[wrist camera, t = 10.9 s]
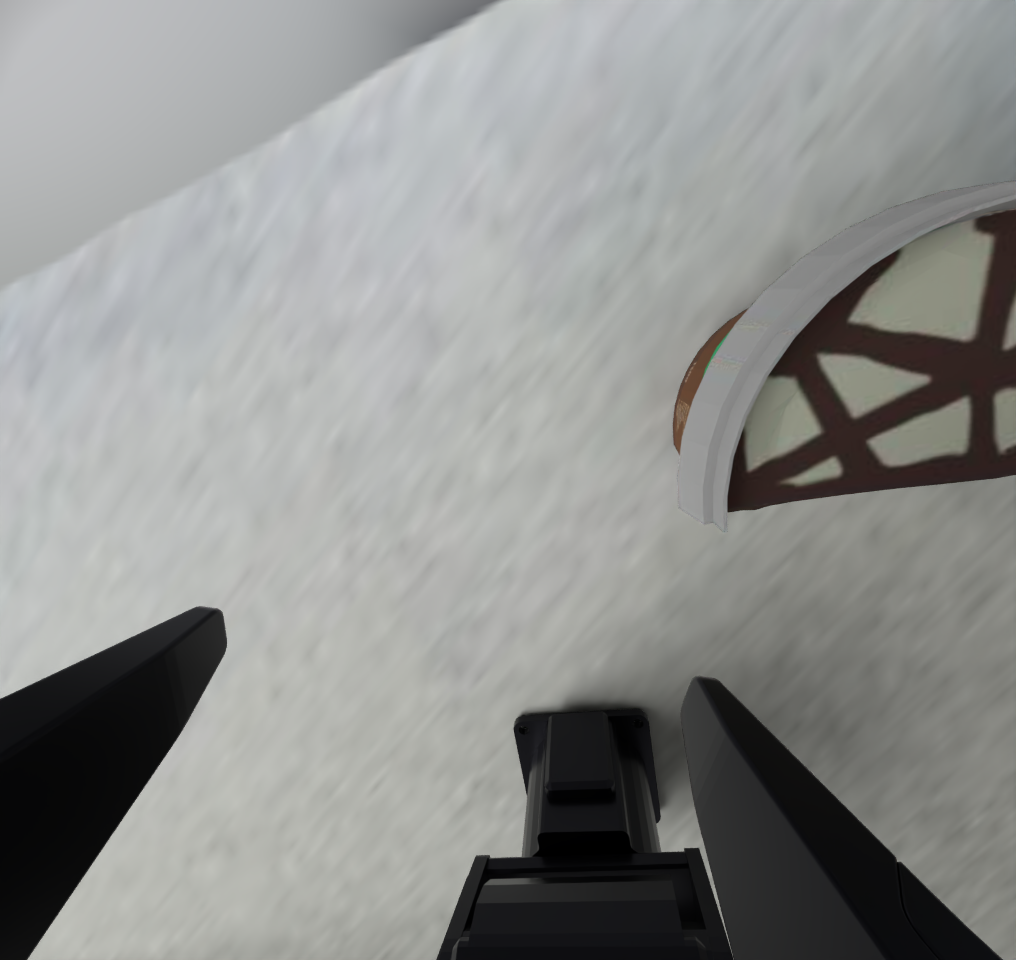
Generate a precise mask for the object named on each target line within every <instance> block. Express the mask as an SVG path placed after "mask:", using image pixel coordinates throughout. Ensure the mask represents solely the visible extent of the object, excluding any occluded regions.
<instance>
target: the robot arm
mask: <svg viewBox="0 0 1016 960" xmlns="http://www.w3.org/2000/svg"><path fill="white" fill-rule="evenodd" d="M226 648H227V637H226V630H225V623H224V616H223V613H222V611H221V610H219V609H217V608H210V607H203V606H199V607H195V608H193V609H190V610H188V611H186V612H184V613H182V614H180V615H178V616H176V617H173V618H171V619H169V620H167V621H165V622H163V623H161V624H159V625H156V626H154V627H152V628H150V629H148V630H146V631H144V632H142V633H139V634H137V635H135V636H133V637H131V638H129V639H127V640H125V641H122V642H120V643H118V644H116V645H114V646H112V647H110V648H108V649H105V650H103V651H101V652H99V653H97V654H95V655H93V656H91V657H88V658H86V659H84V660H82V661H80V662H78V663H76V664H74V665H71V666H69V667H67V668H65V669H63V670H61V671H59V672H57V673H54V674H52V675H50V676H48V677H46V678H44V679H42V680H40V681H37V682H35V683H33V684H31V685H29V686H27V687H25V688H22V689H20V690H18V691H16V692H14V693H12V694H10V695H8V696H5V697H3V698H1V699H0V960H27V959H28V958H29V956H30V955H31V953H32V952H33V950H34V949H35V947H36V946H37V944H38V943H39V941H40V940H41V939H42V937H43V936H44V934H45V933H46V931H47V930H48V928H49V927H50V925H51V924H52V922H53V921H54V919H55V918H56V916H57V915H58V914H59V912H60V911H61V909H62V908H63V906H64V905H65V903H66V902H67V900H68V899H69V897H70V896H71V894H72V893H73V891H74V890H75V888H76V887H77V886H78V884H79V883H80V881H81V880H82V878H83V877H84V875H85V874H86V872H87V871H88V869H89V868H90V866H91V865H92V863H93V862H94V861H95V859H96V858H97V856H98V855H99V853H100V852H101V850H102V849H103V847H104V846H105V844H106V843H107V841H108V840H109V838H110V837H111V836H112V834H113V833H114V831H115V830H116V828H117V827H118V825H119V824H120V822H121V821H122V819H123V818H124V816H125V815H126V813H127V812H128V810H129V809H130V808H131V806H132V805H133V803H134V802H135V800H136V799H137V797H138V796H139V794H140V793H141V791H142V790H143V788H144V787H145V785H146V784H147V783H148V781H149V780H150V778H151V777H152V775H153V774H154V772H155V771H156V769H157V768H158V766H159V765H160V763H161V762H162V760H163V759H164V758H165V756H166V755H167V753H168V752H169V750H170V749H171V747H172V746H173V744H174V743H175V741H176V740H177V738H178V737H179V735H180V733H181V732H182V730H183V728H184V727H185V725H186V723H187V722H188V720H189V718H190V716H191V714H192V713H193V711H194V709H195V707H196V705H197V704H198V702H199V700H200V698H201V696H202V694H203V693H204V691H205V689H206V687H207V685H208V683H209V682H210V680H211V678H212V676H213V674H214V673H215V671H216V669H217V667H218V665H219V663H220V662H221V660H222V658H223V656H224V654H225V651H226ZM636 719H640V720H641V721H640V722H634V720H636ZM681 723H682V730H683V736H684V743H685V749H686V756H687V762H688V769H689V775H690V782H691V788H692V794H693V800H694V805H695V809H696V814H697V818H698V822H699V826H700V830H701V834H702V838H703V841H704V845H705V849H706V853H707V857H708V861H709V865H710V869H711V872H712V876H713V880H714V884H715V888H716V892H717V896H718V900H719V903H720V907H721V911H722V915H723V919H724V923H725V927H726V931H727V934H728V938H729V942H730V946H731V949H730V946H729V943H728V939H727V936H726V933H725V929H724V926H723V923H722V920H721V917H720V914H719V910H718V907H717V904H716V901H715V898H714V894H713V891H712V888H711V885H710V882H709V879H708V875H707V872H706V869H705V866H704V863H703V859H702V856H701V853H700V850H699V848H684V852H661V848H660V842H659V837H658V832H657V826H656V823H658V822H659V821H660V817H661V815H660V808H659V800H658V792H657V784H656V776H655V768H654V761H653V753H652V745H651V737H650V729H649V722H648V718H647V715H646V713H645V712H644V711H643V710H640V709H624V710H608V711H592V712H576V713H560V714H544V715H528V716H520V717H518V718H517V719H516V720H515V723H514V734H515V739H516V744H517V749H518V754H519V759H520V764H521V769H522V774H523V778H524V783H525V788H526V793H527V806H526V817H525V827H524V838H523V848H522V857H506V858H490V855H479V856H476V857H475V859H474V862H473V865H472V867H471V870H470V873H469V875H468V877H467V879H466V881H465V884H464V887H463V889H462V892H461V895H460V897H459V900H458V903H457V906H456V908H455V911H454V914H453V916H452V919H451V922H450V924H449V927H448V930H447V933H446V935H445V938H444V941H443V943H442V946H441V949H440V951H439V954H438V957H437V960H733V958H734V960H1003V959H1002V958H1000V957H999V956H998V955H997V954H996V953H995V952H994V951H993V950H992V949H991V948H990V947H989V946H987V945H986V944H985V943H984V942H983V941H982V940H981V939H980V938H979V937H978V936H977V935H976V934H974V933H973V932H972V931H971V930H970V929H969V928H968V927H967V926H966V925H965V924H964V923H963V922H962V921H961V920H960V919H959V918H958V917H957V916H956V915H955V914H954V913H952V912H951V911H950V910H949V909H948V908H947V907H946V906H945V905H944V904H943V903H942V902H941V901H940V900H939V899H938V898H937V897H936V896H935V895H934V894H933V893H932V892H931V891H930V890H929V889H928V888H927V887H926V886H925V885H924V884H923V883H922V882H921V881H920V880H919V879H918V878H917V877H916V876H915V875H914V874H913V873H912V872H911V871H910V870H909V869H908V868H907V867H906V866H905V865H904V864H903V863H901V862H897V859H896V857H895V856H894V855H893V854H892V853H891V852H890V851H889V850H888V849H887V848H886V847H885V846H884V845H883V844H882V843H881V842H880V841H879V840H878V839H877V838H876V837H875V836H874V835H873V834H872V833H871V832H870V831H869V830H868V829H867V828H866V827H865V826H864V825H863V824H862V823H861V822H860V821H859V820H858V819H857V818H856V817H855V816H854V815H853V814H852V813H851V812H850V811H849V810H848V809H847V808H846V807H845V806H844V805H843V804H842V803H841V802H840V801H839V800H838V799H837V798H836V797H835V796H834V795H833V794H832V793H831V792H830V791H829V790H828V789H827V788H826V787H825V786H824V785H823V784H822V783H821V782H820V781H819V780H818V779H817V778H816V777H815V776H814V775H813V774H812V773H811V772H810V771H809V770H808V769H807V768H806V767H805V766H804V765H803V764H802V763H801V762H800V761H799V760H798V759H797V758H796V757H795V756H794V755H793V754H792V753H791V752H790V751H789V750H788V749H787V748H786V747H785V746H784V745H783V744H782V743H781V742H780V741H779V740H778V739H777V738H776V737H775V736H774V735H773V734H772V733H771V732H770V731H769V730H768V729H767V728H766V727H765V726H764V725H763V724H762V723H761V722H760V721H759V720H758V719H757V718H756V717H755V716H754V715H753V714H752V713H751V712H750V711H749V710H748V709H747V708H746V707H745V706H744V705H743V704H742V703H741V702H740V701H739V700H738V699H737V698H736V697H735V696H734V695H733V694H732V693H731V692H730V691H729V690H728V689H727V688H726V687H725V686H724V685H723V684H722V683H721V682H720V681H719V680H717V679H715V678H709V677H702V676H695V677H694V678H693V679H692V681H691V683H690V686H689V688H688V691H687V693H686V696H685V699H684V701H683V704H682V707H681ZM521 726H526V727H527V728H526V729H524V728H522V727H521ZM731 950H732V953H731ZM732 954H733V956H732Z"/></svg>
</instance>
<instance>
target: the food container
mask: <svg viewBox="0 0 1016 960" xmlns="http://www.w3.org/2000/svg"><path fill="white" fill-rule="evenodd" d="M673 438H674V446H675V447H676V449H677V451H678V453H679V455H680V457H679V466H678V474H677V482H678V508H679V509H681V510H682V511H684V512H685V513H687V514H688V515H690V516H691V517H693V518H694V519H696V520H697V521H699V522H700V523H702V524H710V523H714V524H715V525H716V526H717V527H718V528H719V529H720V530H721V531H722V532H727V512H734V511H740V510H757V509H760V508H763V507H767V506H770V505H776V504H782V503H787V502H793V501H800V500H808V499H815V498H823V497H830V496H838V495H845V494H854V493H862V492H870V491H879V490H887V489H896V488H905V487H916V486H926V485H937V484H946V483H956V482H965V481H975V480H985V479H994V478H1000V477H1006V476H1011V475H1016V181H1008V182H1000V183H992V184H986V185H980V186H974V187H967V188H961V189H955V190H948V191H942V192H939V193H936V194H933V195H929V196H926V197H923V198H920V199H917V200H913V201H910V202H907V203H904V204H901V205H897V206H894V207H891V208H889V209H887V210H885V211H883V212H881V213H879V214H877V215H875V216H872V217H870V218H868V219H866V220H864V221H862V222H860V223H858V224H856V225H853V226H851V227H849V228H847V229H845V230H844V231H842V232H841V233H839V234H837V235H836V236H834V237H833V238H831V239H830V240H828V241H827V242H825V243H824V244H822V245H821V246H819V247H818V248H816V249H814V250H813V251H811V252H810V253H808V254H807V255H805V256H804V257H802V258H801V259H800V260H799V261H798V262H797V263H795V264H794V265H793V266H792V267H791V268H790V269H789V270H787V271H786V272H785V273H784V274H783V275H782V276H780V277H779V278H778V279H777V280H776V281H775V282H774V283H772V284H771V285H770V286H769V287H768V288H767V289H766V290H765V291H764V292H763V293H762V294H761V295H760V296H759V298H758V299H757V300H756V301H755V302H754V303H753V304H752V306H751V307H750V308H748V309H746V310H744V311H743V312H741V313H740V314H738V315H737V316H735V317H734V318H732V319H731V320H729V321H728V322H727V323H725V324H724V325H723V326H722V327H721V328H720V329H719V330H718V331H716V332H715V333H714V334H713V335H712V336H711V337H710V338H709V340H708V341H707V342H706V343H705V344H704V346H703V347H702V348H701V349H700V350H699V352H698V353H697V355H696V356H695V358H694V360H693V361H692V363H691V364H690V366H689V368H688V370H687V372H686V374H685V376H684V379H683V381H682V383H681V386H680V389H679V392H678V396H677V400H676V403H675V409H674V418H673Z"/></svg>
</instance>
